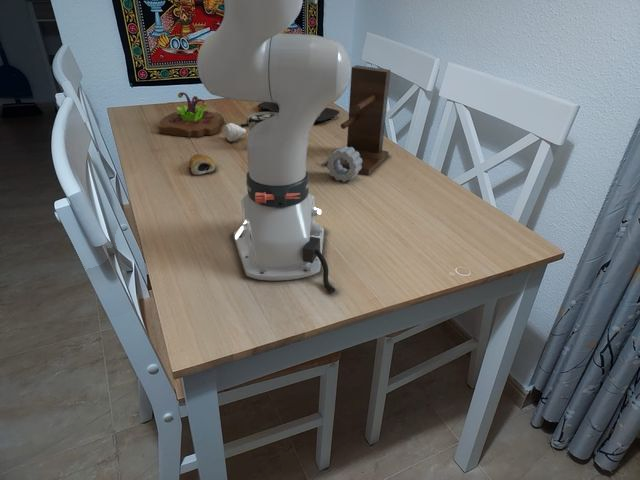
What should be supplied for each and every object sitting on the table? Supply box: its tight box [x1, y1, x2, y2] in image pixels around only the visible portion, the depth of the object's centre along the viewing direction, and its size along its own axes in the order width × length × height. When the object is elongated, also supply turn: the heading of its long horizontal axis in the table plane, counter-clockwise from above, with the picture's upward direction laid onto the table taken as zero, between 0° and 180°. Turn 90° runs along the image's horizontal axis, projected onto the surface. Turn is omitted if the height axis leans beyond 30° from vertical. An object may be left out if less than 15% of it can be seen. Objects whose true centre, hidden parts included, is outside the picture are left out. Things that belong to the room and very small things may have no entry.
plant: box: [158, 91, 225, 138], centre depth 145 cm, size 20×20×11 cm
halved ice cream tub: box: [245, 111, 277, 131], centre depth 132 cm, size 12×6×10 cm, turn 84°
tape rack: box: [326, 64, 391, 176], centre depth 121 cm, size 15×12×24 cm
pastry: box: [188, 153, 217, 176], centre depth 120 cm, size 9×7×4 cm
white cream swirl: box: [224, 122, 247, 143], centre depth 138 cm, size 6×6×5 cm
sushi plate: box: [240, 102, 340, 127], centre depth 156 cm, size 29×30×4 cm
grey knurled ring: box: [326, 145, 362, 183], centre depth 116 cm, size 4×8×8 cm, turn 62°
